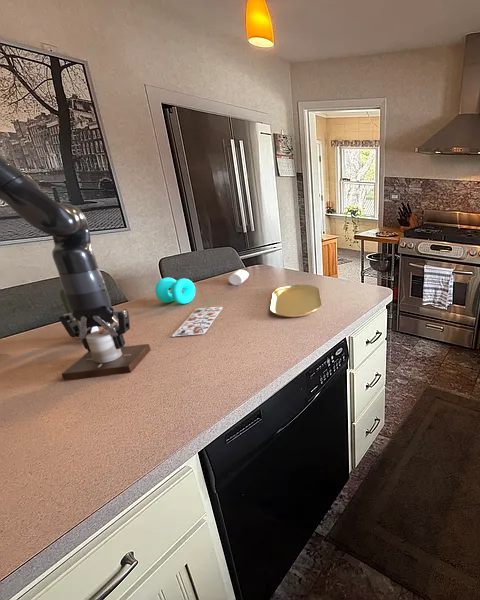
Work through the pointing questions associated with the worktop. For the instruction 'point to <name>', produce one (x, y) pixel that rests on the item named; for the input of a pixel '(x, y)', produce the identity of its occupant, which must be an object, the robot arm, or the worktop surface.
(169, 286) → the donuts
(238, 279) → the roll
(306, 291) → the serving platter
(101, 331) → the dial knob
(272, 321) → the worktop surface
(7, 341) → the worktop surface
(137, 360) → the holder
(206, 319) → the paper towel
